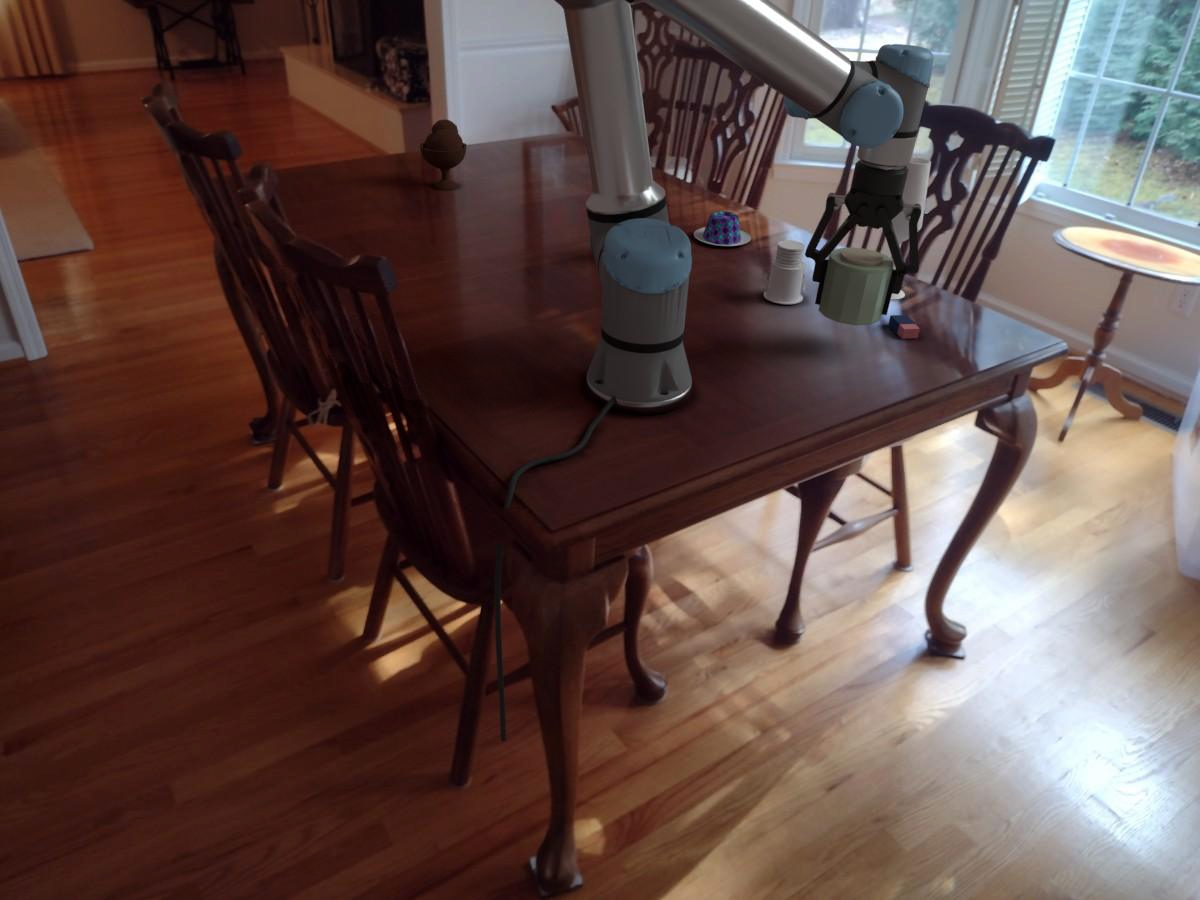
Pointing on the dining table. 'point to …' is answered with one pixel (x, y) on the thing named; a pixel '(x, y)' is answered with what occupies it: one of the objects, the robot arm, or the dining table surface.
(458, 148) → the ice cream bowl
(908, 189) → the champagne flute
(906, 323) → the eraser
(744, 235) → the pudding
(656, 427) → the dining table surface
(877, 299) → the green canister
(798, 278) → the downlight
